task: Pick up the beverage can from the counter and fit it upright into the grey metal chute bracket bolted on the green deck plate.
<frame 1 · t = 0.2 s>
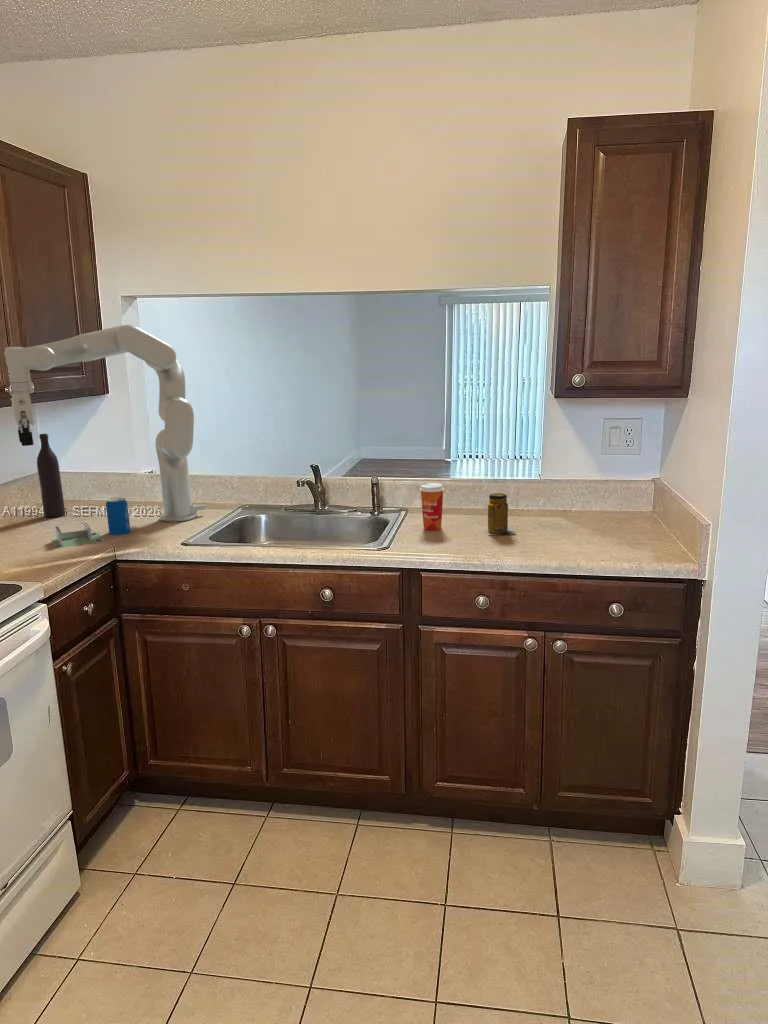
hand: (26, 443, 222), 31 cm above the worktop, fingers open, 9 cm apart
deck plate: (78, 543, 223), on the worktop
condiment: (500, 533, 221), on the worktop
chute bracket: (74, 540, 222), resting on deck plate
paper cup: (432, 528, 228), on the worktop
wine bottle: (55, 516, 261), on the worktop
beverage can: (120, 535, 231), on the worktop
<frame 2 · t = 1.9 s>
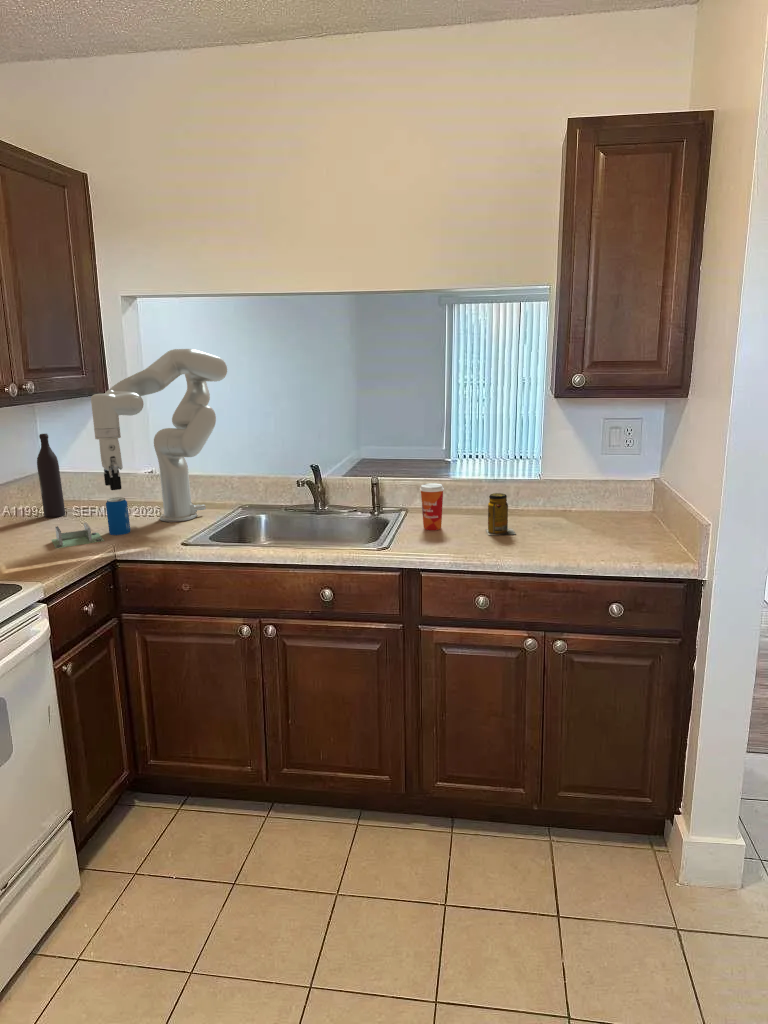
hand: (113, 487, 227), 16 cm above the worktop, fingers open, 9 cm apart
nothing on the worktop moved.
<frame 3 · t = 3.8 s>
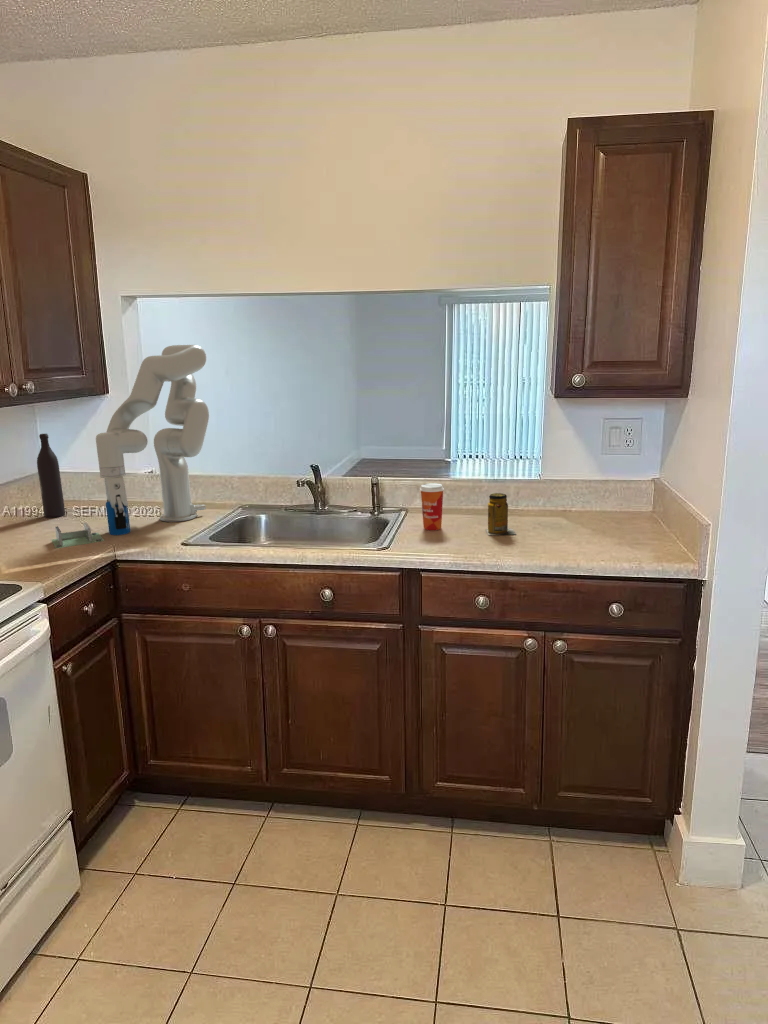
hand: (119, 525, 230), 3 cm above the worktop, fingers closed on beverage can, 6 cm apart
beverage can: (120, 535, 231), on the worktop, touching gripper
everything else where it was.
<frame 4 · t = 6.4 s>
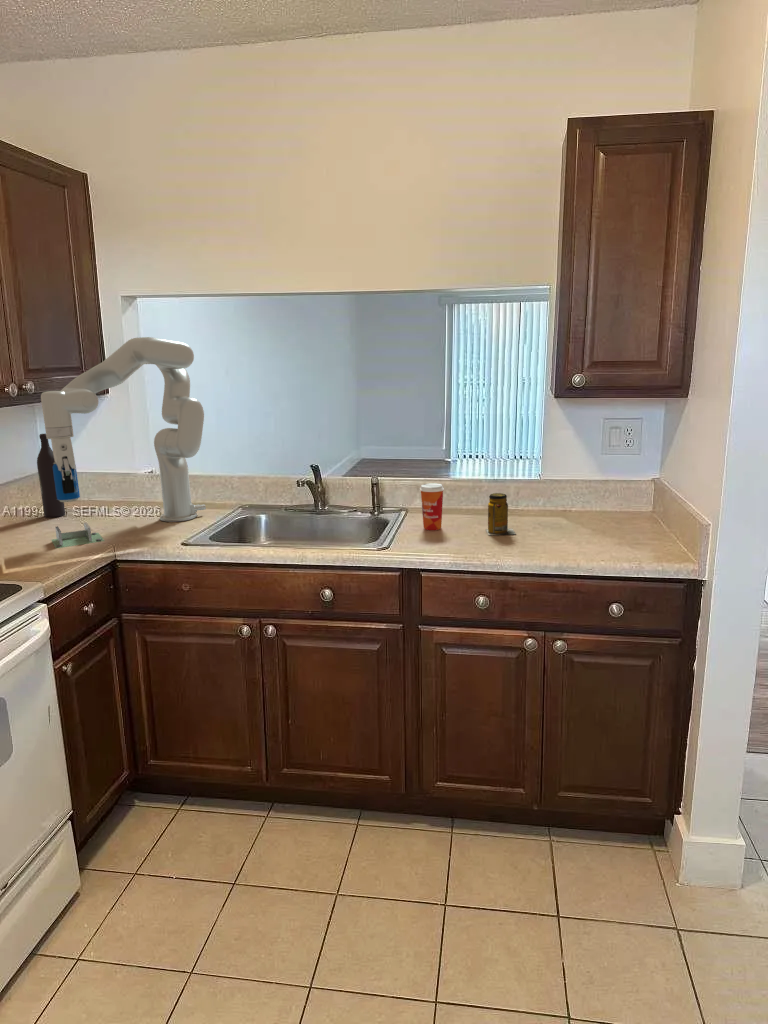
hand: (67, 490, 218), 17 cm above the worktop, fingers closed on beverage can, 6 cm apart
beverage can: (69, 501, 219), point 14 cm above the worktop, touching gripper
everything else where it was.
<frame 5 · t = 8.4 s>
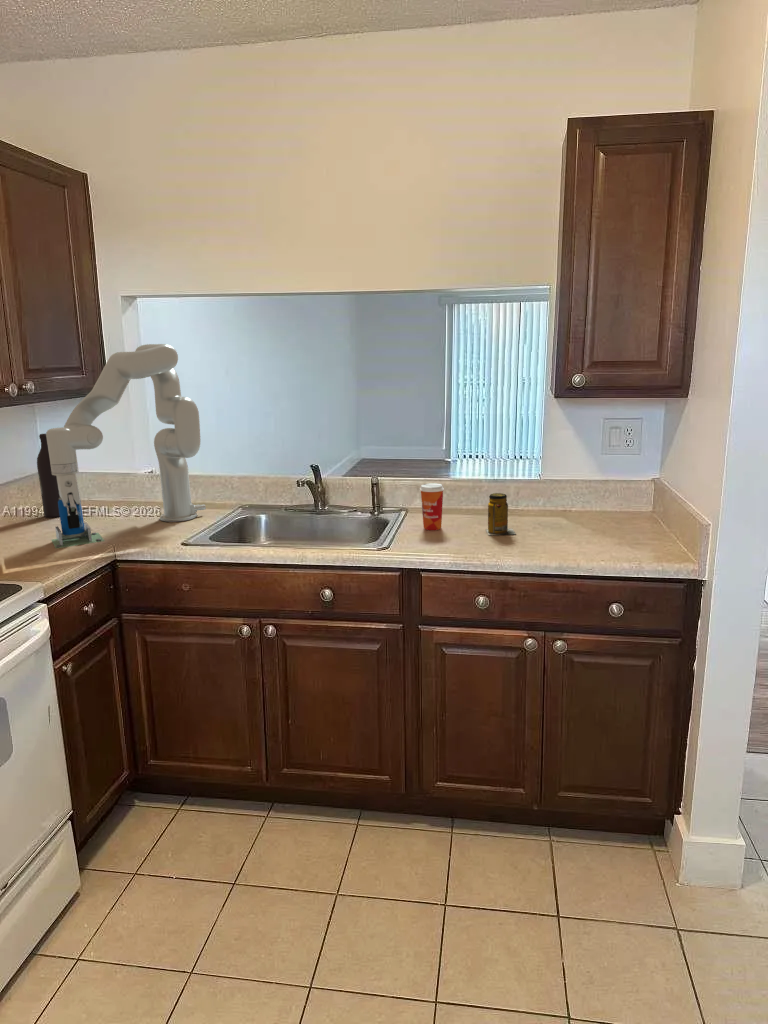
hand: (72, 525, 221), 6 cm above the worktop, fingers closed on beverage can, 6 cm apart
beverage can: (74, 535, 222), point 3 cm above the worktop, touching gripper
everything else where it was.
when the fingers open (6 cm above the worktop, at t = 9.2 s): beverage can drops 2 cm, resting on deck plate.
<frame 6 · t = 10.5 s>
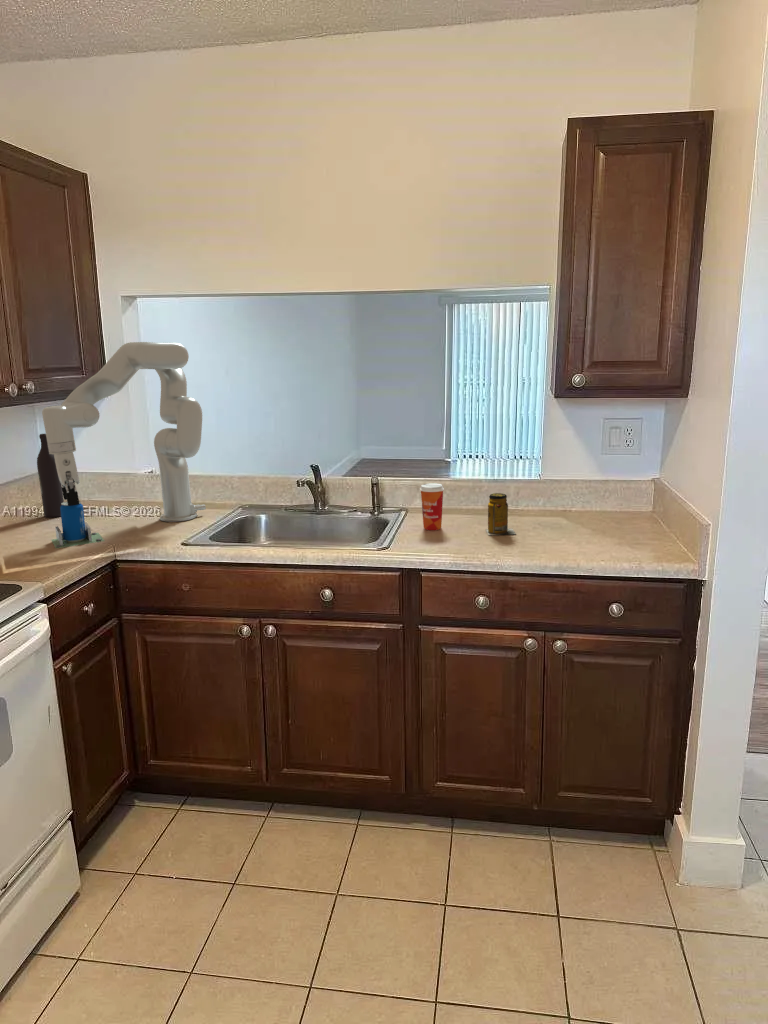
hand: (71, 502, 220), 13 cm above the worktop, fingers open, 9 cm apart
beverage can: (75, 540, 222), point 1 cm above the worktop, touching deck plate
everything else where it was.
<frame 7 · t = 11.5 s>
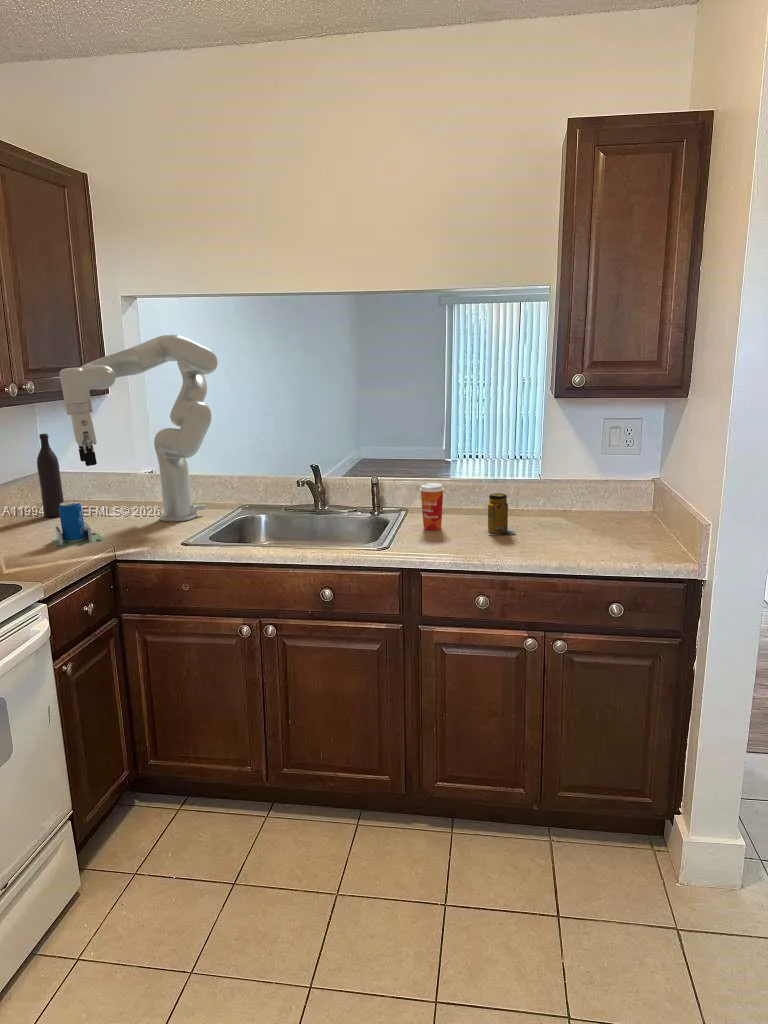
hand: (88, 462, 224), 24 cm above the worktop, fingers open, 9 cm apart
nothing on the worktop moved.
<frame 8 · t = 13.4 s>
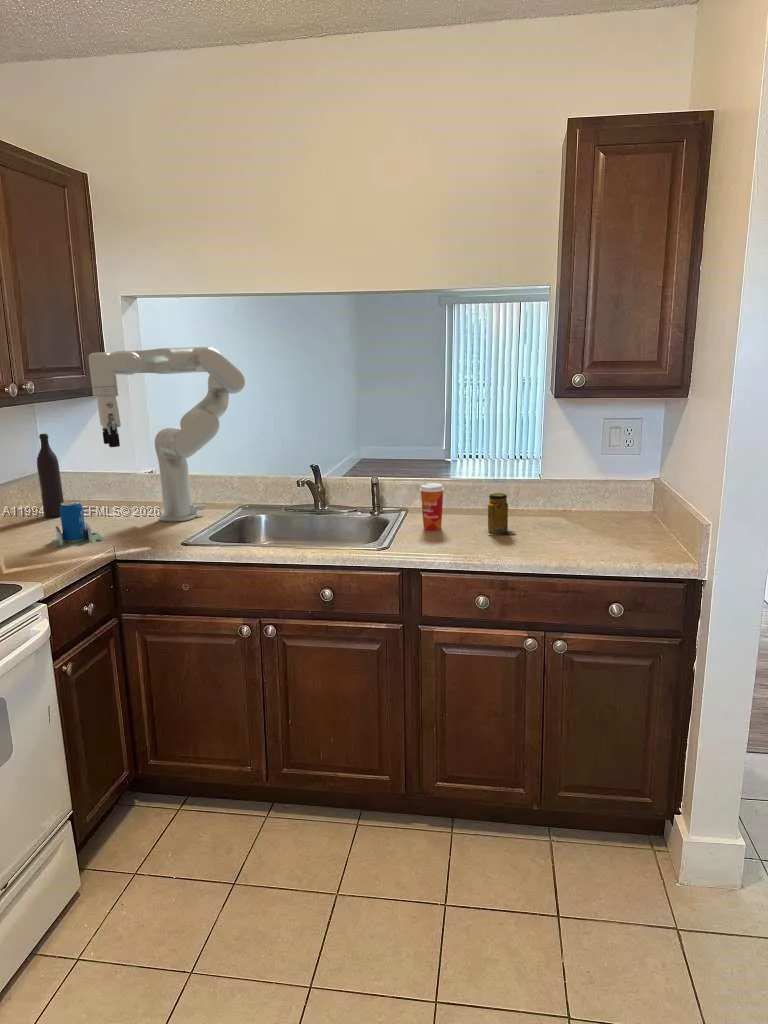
hand: (111, 445, 232), 28 cm above the worktop, fingers open, 9 cm apart
nothing on the worktop moved.
at the end: beverage can 0.2 cm off-centre on the chute bracket, point 0.0 cm above the chute bracket's base; beverage can tilted 1°; the gripper is holding nothing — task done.
